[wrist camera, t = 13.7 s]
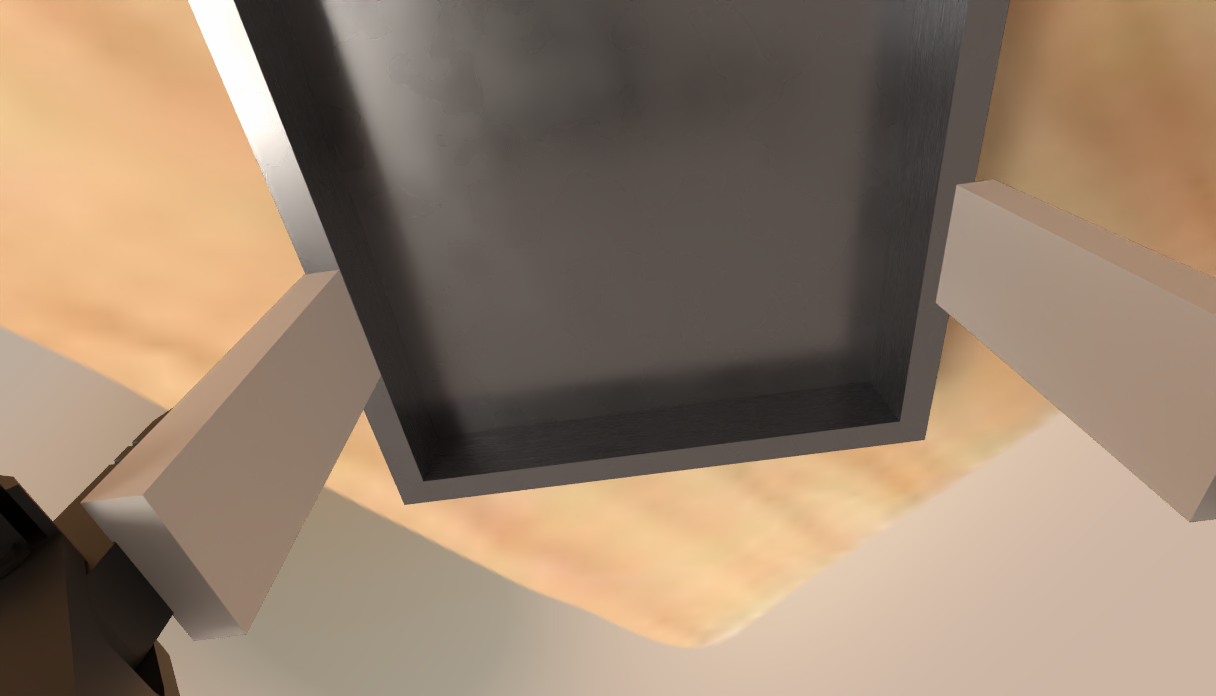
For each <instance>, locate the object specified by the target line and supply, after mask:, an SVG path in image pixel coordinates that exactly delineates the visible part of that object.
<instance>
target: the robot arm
mask: <svg viewBox="0 0 1216 696" xmlns="http://www.w3.org/2000/svg"><path fill="white" fill-rule="evenodd" d="M936 303H937V304H938V305H939V306H940V307H941V308H942V309H944V310H945V311H946V312H947V313H948V314H949V315H951V316H952V317H953V318H954V319H955V320H956V321H958V322H959V323H960V324H961V325H962V326H963V327H964V328H966V329H967V330H968V331H969V332H970V333H971V334H973V335H974V336H975V337H976V338H977V339H978V340H979V341H981V342H982V343H983V344H984V345H985V346H986V347H988V348H989V349H990V350H991V351H992V352H993V353H994V354H996V355H997V356H998V357H999V358H1000V359H1001V360H1003V361H1004V362H1005V363H1006V364H1007V365H1008V366H1010V367H1011V368H1012V369H1013V370H1014V371H1015V372H1016V373H1018V374H1019V375H1020V376H1021V377H1022V378H1023V379H1025V380H1026V381H1027V382H1028V383H1029V384H1030V385H1031V386H1033V387H1034V388H1035V389H1036V390H1037V391H1038V392H1040V393H1041V394H1042V395H1043V396H1044V397H1045V398H1046V399H1048V400H1049V401H1050V402H1051V403H1052V404H1053V405H1055V406H1056V407H1057V408H1058V409H1059V410H1060V411H1062V412H1063V413H1064V414H1065V415H1066V416H1067V417H1068V418H1070V419H1071V420H1072V421H1073V422H1074V423H1076V424H1077V425H1078V426H1079V427H1080V428H1081V429H1082V430H1084V431H1085V432H1086V433H1087V434H1088V435H1089V436H1090V437H1092V438H1093V439H1094V440H1095V441H1096V442H1097V443H1098V444H1100V445H1101V446H1102V447H1103V448H1104V449H1105V450H1107V451H1108V452H1109V453H1110V454H1111V455H1112V456H1114V457H1115V458H1116V459H1117V460H1118V461H1119V462H1121V463H1122V464H1123V465H1124V466H1125V467H1126V468H1128V469H1129V470H1130V471H1131V472H1132V473H1133V474H1134V475H1136V476H1137V477H1138V478H1139V479H1140V480H1141V481H1142V482H1144V483H1145V484H1146V485H1147V486H1148V487H1149V488H1150V489H1152V490H1153V491H1154V492H1155V493H1156V494H1157V495H1159V496H1160V497H1161V498H1162V499H1163V500H1164V501H1166V502H1167V503H1168V504H1169V505H1170V506H1171V507H1172V508H1174V509H1175V510H1176V511H1177V512H1178V513H1180V514H1181V515H1182V516H1183V517H1184V518H1185V519H1186V520H1187V521H1189V522H1196V521H1205V520H1213V519H1216V279H1215V278H1213V277H1211V276H1209V275H1206V274H1204V273H1202V272H1200V271H1197V270H1195V269H1193V268H1191V267H1188V266H1186V265H1184V264H1182V263H1180V262H1177V261H1175V260H1173V259H1171V258H1168V257H1166V256H1164V255H1162V254H1159V253H1157V252H1155V251H1153V250H1150V249H1148V248H1146V247H1144V246H1142V245H1139V244H1137V243H1135V242H1133V241H1130V240H1128V239H1126V238H1124V237H1121V236H1119V235H1117V234H1115V233H1112V232H1110V231H1108V230H1106V229H1103V228H1101V227H1099V226H1097V225H1095V224H1092V223H1090V222H1088V221H1086V220H1083V219H1081V218H1079V217H1077V216H1074V215H1072V214H1070V213H1068V212H1065V211H1063V210H1061V209H1059V208H1056V207H1054V206H1052V205H1050V204H1048V203H1045V202H1043V201H1041V200H1039V199H1036V198H1034V197H1032V196H1030V195H1027V194H1025V193H1023V192H1021V191H1018V190H1016V189H1014V188H1012V187H1009V186H1007V185H1005V184H1003V183H1001V182H998V181H996V180H987V181H980V182H972V183H965V184H958V185H956V191H955V197H954V202H953V208H952V213H951V219H950V225H949V230H948V236H947V241H946V247H945V253H944V258H943V264H942V269H941V275H940V281H939V286H938V292H937V298H936ZM380 377H381V375H380V372H379V370H378V367H377V365H376V362H375V359H374V357H373V354H372V352H371V349H370V347H369V344H368V342H367V339H366V337H365V334H364V332H363V329H362V327H361V324H360V322H359V319H358V316H357V314H356V311H355V309H354V306H353V304H352V301H351V299H350V296H349V294H348V291H347V289H346V286H345V284H344V281H343V279H342V276H341V273H340V271H339V270H334V271H326V272H319V273H312V274H305V275H303V276H302V277H301V278H300V279H299V280H298V281H297V282H296V283H295V284H294V285H293V286H292V287H291V289H290V290H289V291H288V292H287V293H286V294H285V295H284V296H283V297H282V298H281V299H280V300H279V301H278V302H277V303H276V304H275V305H274V306H273V307H272V308H271V309H270V310H269V311H268V312H267V313H266V314H265V315H264V316H263V317H262V318H261V319H260V320H259V321H258V322H257V323H256V324H255V325H254V326H253V327H252V328H251V329H250V330H249V331H248V332H247V333H246V334H245V335H244V336H243V337H242V338H241V339H240V340H239V341H238V342H237V344H236V345H235V346H234V347H233V348H232V349H231V350H230V351H229V352H228V353H227V354H226V355H225V356H224V357H223V358H222V359H221V360H220V361H219V362H218V363H217V364H216V365H215V366H214V367H213V368H212V369H211V370H210V371H209V372H208V373H207V374H206V375H205V376H204V377H203V378H202V379H201V380H200V381H199V382H198V383H197V384H196V385H195V386H194V387H193V388H192V389H191V390H190V391H189V392H188V393H187V394H186V395H185V396H184V397H183V399H182V400H181V401H180V402H179V403H178V404H177V405H176V406H175V407H173V408H172V409H170V410H169V411H167V412H166V413H164V414H163V415H161V416H160V417H158V418H157V419H155V420H154V421H153V422H152V423H151V424H150V425H149V426H148V427H147V428H146V429H145V430H144V431H143V432H142V433H141V434H140V435H139V436H138V437H137V438H136V439H135V440H134V441H133V442H132V443H133V446H128V447H127V448H126V449H125V450H124V451H123V452H122V453H121V454H120V455H119V456H118V457H117V458H116V459H115V460H114V461H115V464H113V465H109V466H108V467H107V468H106V469H105V470H104V471H103V472H102V473H101V474H100V475H99V476H98V477H97V478H96V479H95V480H94V481H93V482H92V483H91V484H90V485H89V486H88V487H87V488H86V489H85V490H84V491H83V492H82V493H81V494H80V495H79V496H78V497H77V498H76V499H75V500H74V501H73V502H72V503H71V504H70V505H69V506H68V507H67V508H66V509H65V510H64V511H63V512H62V513H61V514H60V515H59V516H58V517H57V518H56V519H55V520H54V521H52V520H51V519H50V518H49V517H48V516H47V515H46V513H45V512H44V511H43V510H42V509H41V508H40V506H39V505H38V504H37V503H36V502H35V501H34V500H33V499H32V497H31V496H30V495H29V494H28V493H27V492H26V491H25V489H24V488H23V487H22V486H21V485H20V484H19V483H18V481H17V480H16V479H15V478H14V477H11V476H2V475H0V696H180V694H179V690H178V687H177V683H176V679H175V675H174V671H173V667H172V663H171V660H170V656H169V654H168V653H167V652H166V650H165V649H164V648H163V647H162V645H161V644H160V643H159V642H158V641H157V640H156V639H157V638H158V636H159V635H160V633H161V632H162V630H163V629H164V627H165V626H166V624H167V623H168V621H169V619H170V618H171V616H172V615H173V616H174V618H175V619H176V620H177V621H178V622H179V624H180V625H181V626H182V627H183V628H184V630H185V631H186V632H187V633H188V635H189V636H190V637H191V638H192V639H193V640H194V641H198V640H206V639H215V638H223V637H230V636H239V635H246V634H247V632H248V630H249V628H250V626H251V624H252V623H253V621H254V619H255V617H256V615H257V613H258V611H259V609H260V607H261V605H262V603H263V601H264V599H265V598H266V595H267V594H268V592H269V590H270V588H271V586H272V584H273V582H274V580H275V578H276V576H277V574H278V573H279V570H280V569H281V567H282V565H283V563H284V561H285V559H286V557H287V555H288V553H289V551H290V549H291V548H292V545H293V544H294V542H295V540H296V538H297V536H298V534H299V532H300V530H301V528H302V526H303V524H304V522H305V521H306V519H307V517H308V515H309V513H310V511H311V509H312V507H313V505H314V503H315V501H316V500H317V498H318V495H319V494H320V492H321V490H322V488H323V486H324V484H325V482H326V480H327V478H328V476H329V475H330V473H331V471H332V469H333V467H334V465H335V463H336V461H337V459H338V457H339V455H340V453H341V451H342V450H343V448H344V446H345V444H346V442H347V440H348V438H349V436H350V434H351V432H352V430H353V428H354V426H355V425H356V423H357V421H358V419H359V417H360V415H361V413H362V411H363V409H364V407H365V405H366V403H367V402H368V400H369V398H370V396H371V394H372V392H373V390H374V388H375V386H376V384H377V382H378V380H379V378H380Z"/></svg>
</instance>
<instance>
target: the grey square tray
mask: <svg viewBox="0 0 1216 696" xmlns="http://www.w3.org/2000/svg"><path fill="white" fill-rule="evenodd" d="M188 1H189V4H190V6H191V8H192V11H193V13H194V15H195V18H196V20H197V22H198V25H199V27H200V29H201V32H202V34H203V36H204V39H205V41H206V43H207V46H208V48H209V50H210V53H211V55H212V57H213V59H214V62H215V64H216V66H217V69H218V71H219V73H220V76H221V78H222V80H223V83H224V85H225V87H226V90H227V92H228V94H229V97H230V99H231V101H232V104H233V106H234V108H235V111H236V113H237V115H238V118H239V120H240V122H241V125H242V127H243V129H244V132H245V134H246V136H247V139H248V141H249V143H250V146H251V148H252V150H253V153H254V155H255V157H256V160H257V162H258V164H259V167H260V169H261V171H262V174H263V176H264V178H265V181H266V183H267V185H268V188H269V190H270V192H271V195H272V197H273V199H274V202H275V204H276V206H277V209H278V211H279V213H280V216H281V218H282V220H283V223H284V225H285V227H286V230H287V232H288V234H289V237H290V239H291V241H292V244H293V246H294V248H295V251H296V253H297V255H298V258H299V260H300V262H301V265H302V267H303V269H304V272H305V274H312V273H319V272H326V271H334V270H339V271H340V273H341V276H342V279H343V281H344V284H345V286H346V289H347V291H348V294H349V296H350V299H351V301H352V304H353V306H354V309H355V311H356V314H357V316H358V319H359V322H360V324H361V327H362V329H363V332H364V334H365V337H366V339H367V342H368V344H369V347H370V349H371V352H372V354H373V357H374V359H375V362H376V365H377V367H378V370H379V372H380V375H381V377H380V378H379V380H378V382H377V384H376V386H375V388H374V390H373V392H372V394H371V396H370V398H369V400H368V402H367V403H366V405H365V407H364V411H365V414H366V416H367V418H368V421H369V423H370V425H371V428H372V430H373V432H374V435H375V437H376V439H377V442H378V444H379V446H380V449H381V451H382V453H383V456H384V458H385V460H386V463H387V465H388V467H389V470H390V472H391V474H392V477H393V479H394V481H395V484H396V486H397V488H398V491H399V493H400V495H401V498H402V500H403V502H404V505H407V504H415V503H423V502H431V501H439V500H447V499H455V498H463V497H471V496H479V495H487V494H495V493H503V492H511V491H519V490H527V489H535V488H543V487H551V486H559V485H567V484H575V483H583V482H591V481H599V480H607V479H615V478H623V477H631V476H639V475H647V474H655V473H663V472H671V471H679V470H687V469H695V468H703V467H711V466H719V465H727V464H735V463H743V462H751V461H759V460H767V459H775V458H783V457H791V456H799V455H807V454H815V453H823V452H831V451H839V450H847V449H855V448H863V447H871V446H879V445H887V444H895V443H903V442H911V441H919V440H925V435H926V430H927V425H928V420H929V415H930V409H931V404H932V399H933V394H934V389H935V384H936V378H937V373H938V368H939V363H940V358H941V353H942V348H943V342H944V337H945V332H946V327H947V322H948V317H949V314H948V313H947V312H946V311H945V310H944V309H942V308H941V307H940V306H939V305H938V304H937V303H936V298H937V292H938V286H939V281H940V275H941V269H942V264H943V258H944V253H945V247H946V241H947V236H948V230H949V225H950V219H951V213H952V208H953V202H954V197H955V191H956V185H958V184H965V183H972V182H975V177H976V172H977V167H978V162H979V157H980V151H981V146H982V141H983V136H984V131H985V126H986V121H987V115H988V110H989V105H990V100H991V95H992V90H993V84H994V79H995V74H996V69H997V64H998V59H999V53H1000V48H1001V43H1002V38H1003V33H1004V28H1005V22H1006V17H1007V12H1008V7H1009V2H1010V0H188Z"/></svg>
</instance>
